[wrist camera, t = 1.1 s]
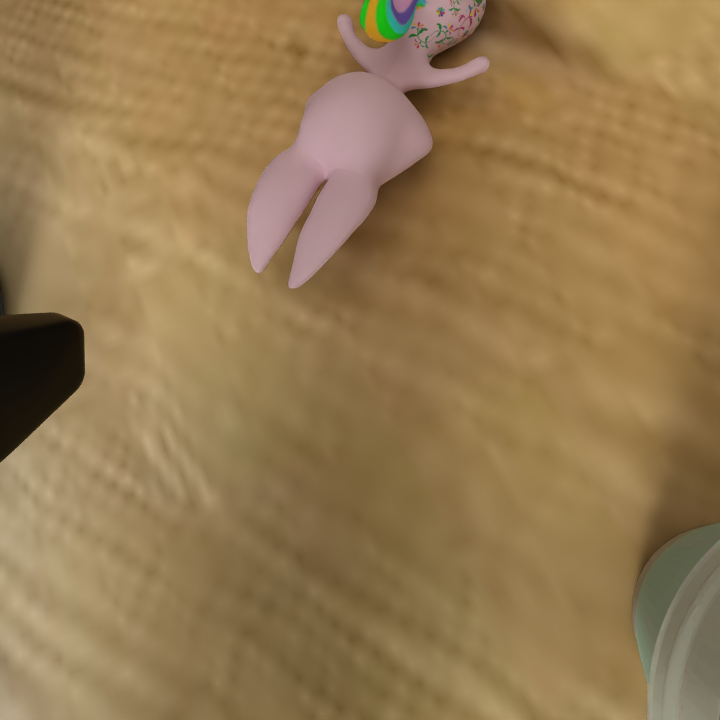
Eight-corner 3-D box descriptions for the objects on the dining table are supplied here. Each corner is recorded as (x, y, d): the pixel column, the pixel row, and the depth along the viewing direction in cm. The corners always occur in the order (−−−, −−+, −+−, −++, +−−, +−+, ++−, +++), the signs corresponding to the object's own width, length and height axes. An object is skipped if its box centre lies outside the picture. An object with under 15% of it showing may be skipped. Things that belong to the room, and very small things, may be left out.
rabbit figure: (399, -19, 28) (217, 268, 25) (383, -168, 23) (145, 176, 19) (537, 20, 26) (360, 334, 23) (556, -131, 21) (326, 254, 18)
